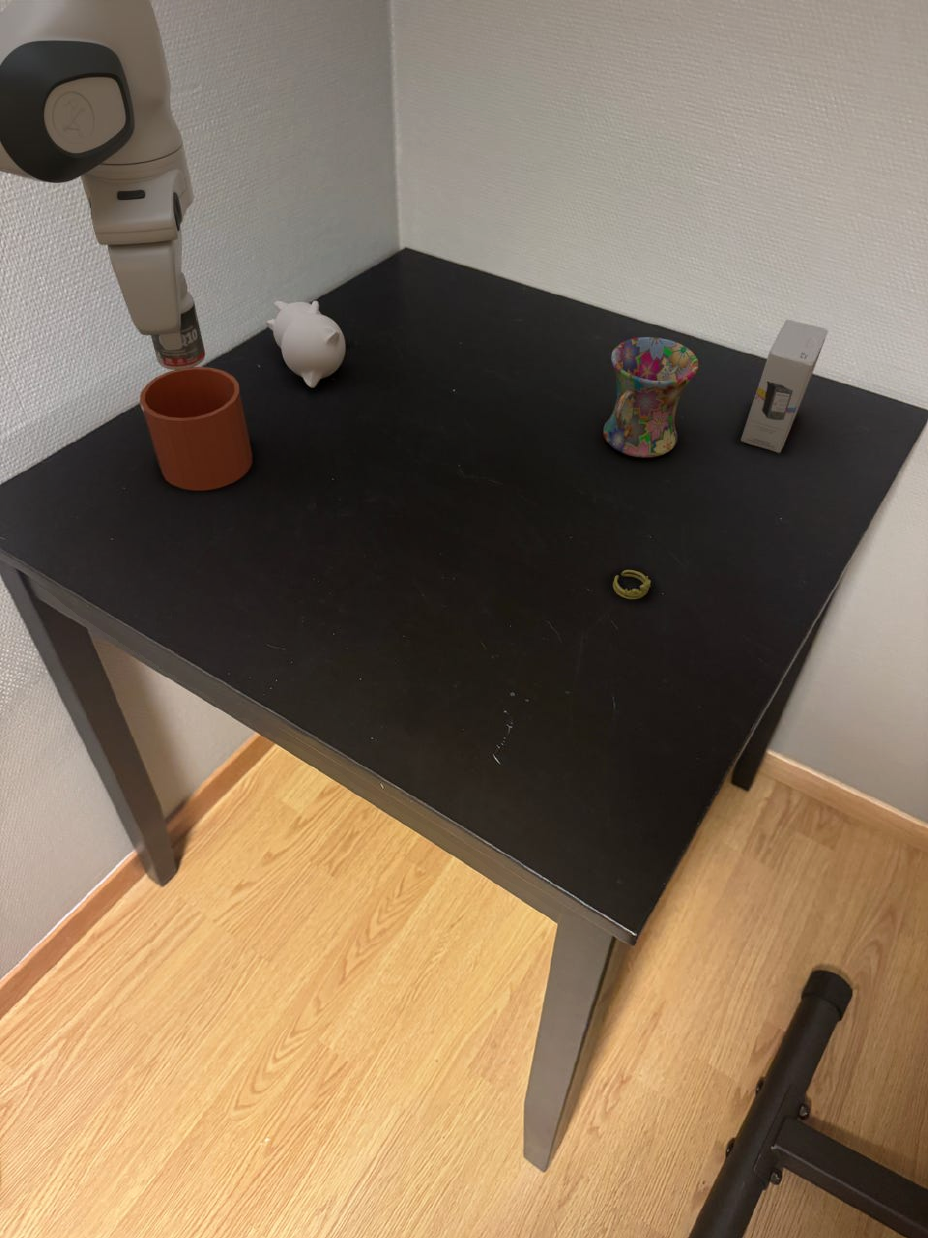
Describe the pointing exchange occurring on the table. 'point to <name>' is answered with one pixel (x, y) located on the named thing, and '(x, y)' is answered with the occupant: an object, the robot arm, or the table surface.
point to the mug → (648, 395)
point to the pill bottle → (183, 337)
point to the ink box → (783, 384)
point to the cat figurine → (308, 340)
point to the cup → (197, 427)
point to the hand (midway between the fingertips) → (174, 330)
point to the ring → (635, 592)
